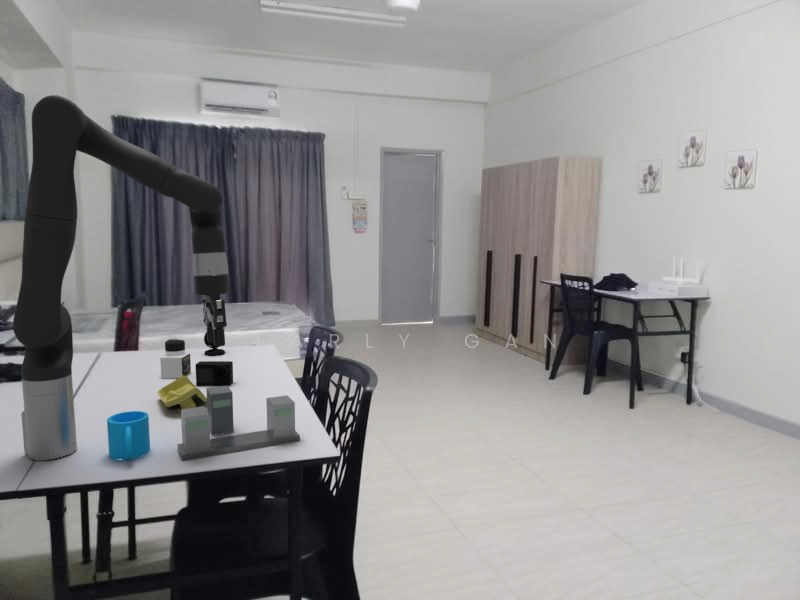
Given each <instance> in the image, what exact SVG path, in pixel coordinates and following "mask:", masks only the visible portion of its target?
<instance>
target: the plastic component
mask: <svg viewBox="0 0 800 600" xmlns="http://www.w3.org/2000/svg"><path fill="white" fill-rule="evenodd" d="M156 393H157V394H158V396H159V398H160V399H161V401H162V403H163V405H164V406H165V407H166V408H171V407H173V406H176V405H178V404H179V406H180V407H181V409H188V408H195V407H197V405H196V403H195V401H194V400H193V399H192V396H197V397H198V398H199V399H200V400H201V401H202V402H203V403H205V402H206V403H207V396H205V394H204V393H203V392H202V391H201V390H200V388H198V387H197V386H196V384H194V383H193V382H192V381H191V380H190V379H189V378H188V377H187V376H182V377H180V378H178V379H175V380H173V381H172V382H169V383H168V384H166V385H165V386H163V387H162V388H160V389H159V390H158V391H157V392H156Z"/></svg>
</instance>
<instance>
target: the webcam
mask: <svg viewBox="0 0 800 600" xmlns="http://www.w3.org/2000/svg"><path fill="white" fill-rule="evenodd" d="M203 342H204V344H205V345H206V347H208V348H209V349H207V350H205V351H204V353H203V354H204V355H205V356H207V355H208V357H215V355H219V356H223V355H225V353H226V351H225V350H224V349H223V348H220V347H221V346H219V347H216V346H215V345H214V342H211V343H210V342H208V339H207V331H206V332H205V334H204V336H203ZM222 354H223V355H222Z"/></svg>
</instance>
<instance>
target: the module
mask: <svg viewBox="0 0 800 600" xmlns="http://www.w3.org/2000/svg"><path fill="white" fill-rule="evenodd" d="M205 390H206V398H207V401H206V410H207V411H208V413H209V423H210V435H211V436H216V435H215V434H218V435H222V434H221V433H224V434H229V433H230V432H231V433H234V432H235V431H234V404H233V402H234V399H233V396H234V395H233V391H232V389H231V387H230V386H210V387H206V389H205Z"/></svg>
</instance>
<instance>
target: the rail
mask: <svg viewBox="0 0 800 600" xmlns="http://www.w3.org/2000/svg"><path fill="white" fill-rule="evenodd" d="M265 400H266V429H265V430H258V431H252V432H245V433H240V434H233V435H227V436H222V437H220V436H219V437H214V438H211V432H210V423H209V413H208V411H207V407H206V406H205V405H204V406H196V407H194V408H188V409H182V408H181V409H180V416H181V417H180V418H181V421H180V422H181V437H182V439H181V440H182V441H181V442H182V443H177V451H179V452H178V454H179V456H180V460H181V461H189V460H194V459H199V458H207V457H212V456H218V455H224V454H229V453H235V452H241V451H246V450H251V449H252V450H253V449H260V448H264V447H265V448H266V447H270V446H276V445H281V444H283V445H284V444H288V443H293V442H300V441H301V435H300V433H298V432H297V431H296V411H295V410H296V407H295V406H296V403H295V402H296V401H294V400H293V399H292V398H291V397H289V396H288V395H279V396H272V397H266V399H265Z"/></svg>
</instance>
